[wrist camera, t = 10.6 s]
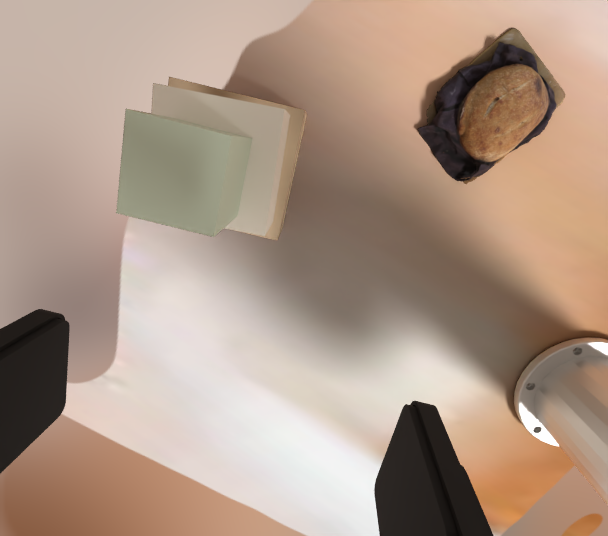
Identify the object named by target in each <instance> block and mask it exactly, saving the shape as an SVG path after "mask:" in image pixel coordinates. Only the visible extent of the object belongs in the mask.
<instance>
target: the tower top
mask: <svg viewBox="0 0 608 536" xmlns="http://www.w3.org/2000/svg"><path fill="white" fill-rule="evenodd" d="M152 114H156V115H161V116H167V117H172V118H176V119H180V120H184V121H188V122H191V123H195V124H199V125H203V126H207V127H211V128H215V129H218V130H222V131H226V132H230V133H234V134H238V135H242V136H245V137H249V138H252V143H251V149H250V154H249V159H248V164H247V169H246V175H245V180H244V185H243V190H242V195H241V200H240V206H239V211H238V216H237V217H236V218H235V219H234V220H233V221H231V222H230V223H229V224H228V225H227V226H226V227H225V228H224V229H229V230H235V231H240V232H245V233H251V234H256V235H261V236H265V235H266V233H267V232H268V230H269V228H270V226H271V225H272V223H273V220H274V213H275V207H276V201H277V195H278V189H279V182H280V176H281V170H282V164H283V158H284V151H285V145H286V139H287V133H288V127H289V120H290V114H289V113H288V112H287V111H286V110H285V109H282V108H277V107H272V106H267V105H262V104H257V103H251V102H246V101H241V100H236V99H231V98H226V97H221V96H216V95H211V94H206V93H201V92H196V91H191V90H186V89H180V88H175V87H170V86H165V85H160V84H153V97H152Z"/></svg>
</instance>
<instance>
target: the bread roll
mask: <svg viewBox="0 0 608 536" xmlns="http://www.w3.org/2000/svg"><path fill="white" fill-rule="evenodd" d="M564 98H565V93H564V91H563V90H562V88H561V87H560V86H559V84H558V83H557V82H556V80H555V79H554V78H553V76H552V74H551V73H550V72H549V70H548V69H547V68H546V66H545V65H544V64H543V62H542V61H541V60H540V58H539V57H538V56H537V54H536V53H535V52H534V50H533V49H532V48H531V46H530V45H529V44H528V42H527V41H526V40H525V38H524V37H523V36H522V34H521V33H520V31H519V30H517V29H515V28H513V29H510V30H509V31H507V32H506V33H505V34H503V35H502V36H501V37H500V38H498V39H497V40H496V41H495V42H494V43H493V44H492V45H491V46H489V47H488V48H487V49H486V50H485V51H483V52H482V53H481V54H480V55H479V56H478V57H477V58H476V59H474V60H473V61H472V62H471V63H470V64H469V65H468V66H466V67H464V68H462V69H460V70H459V71H458V73H457V74H456V75H455V76H454V77H452V78H451V79H450V80H449V81H448V82H447V83H446V84H445V85H444V86H443V87H442V88H441V90H440V91H439V92H437V96H436V99H435V100H434V101H433V103H432V104H431V105H430V106H429V109H427V117H428V119H427V122H428V125H427V126H424V127H420V128H418V131H419V134H420V135H421V137H422V138H423V139H424V141H425V142H426V143H427V144H428V145H429V147H430V148H431V150H432V152H433V154H434V155H435V156H436V158H437V159H438V161H439V162H440V164H441V165H442V167H443V168H444V170H445V171H446V172H447V173H448V174H449V175H450V176H451V177H452V178H454V179H455V180H457V181H463V182H464V183H465V184H467V183H468V182H471V181H473V180H475V179H476V178H477V177H479V176H480V175H482V174H484V173H485V172H487V171H488V170H489V169H490V168H491V167H493V166H494V165H495V164H496V163H498V162H499V161H501V160H502V159H503V158H504V157H505V156H506V155H507V154H508V153H510V152H511V151H513V150H515V149H517V148H518V147H519V146H521V145H523V144H525V143H528V142H529V141H530V140H531V139H532V138H533V137H536V136H538V135H539V134H540V133H541V132H542V131H543V130H544V129H545V127H546V126H547V124H548V121H549V119H550V118H551V116H552V113H553V112H554V110H555V109H556V107H558V106H559V105H560V104H561V103H562V102H563V100H564Z"/></svg>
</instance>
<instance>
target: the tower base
mask: <svg viewBox="0 0 608 536" xmlns="http://www.w3.org/2000/svg"><path fill="white" fill-rule="evenodd" d="M168 86H170V87H175V88H180V89H186V90H191V91H196V92H201V93H206V94H211V95H216V96H221V97H226V98H231V99H236V100H241V101H246V102H251V103H257V104H262V105H267V106H272V107H277V108H282V109H285V110H286V111H287V112H288V113H289V114H290V120H289V127H288V133H287V139H286V145H285V151H284V158H283V164H282V170H281V176H280V182H279V189H278V195H277V201H276V207H275V213H274V220H273V223H272V225H271V226H270V228H269V230H268V232H267V233H266V235H265V236H261V235H256V234H251V233H246V234H251V235H255V236H259V237H264V238H268V239H272V240H278V238H279V235H280V233H281V231H282V228H283V224H284V219H285V214H286V210H287V205H288V200H289V196H290V191H291V187H292V182H293V177H294V173H295V168H296V163H297V159H298V154H299V149H300V145H301V140H302V136H303V131H304V126H305V122H306V117H307V114H306V111H305V110H302V109H298V108H294V107H290V106H286V105H282V104H278V103H274V102H270V101H266V100H262V99H258V98H254V97H250V96H245V95H241V94H237V93H233V92H229V91H225V90H221V89H216V88H212V87H209V86H205V85H201V84H197V83H192V82H188V81H184V80H180V79H176V78H172V77H169V83H168ZM233 231H235V230H233ZM238 232H240V231H238ZM242 233H245V232H242Z"/></svg>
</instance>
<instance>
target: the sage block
mask: <svg viewBox="0 0 608 536" xmlns="http://www.w3.org/2000/svg"><path fill="white" fill-rule="evenodd" d="M251 143H252V138H249V137H245V136H242V135H238V134H234V133H230V132H226V131H222V130H218V129H215V128H211V127H207V126H203V125H199V124H195V123H191V122H188V121H184V120H180V119H176V118H172V117H167V116H161V115H156V114H151V113H145V112H140V111H135V110H130V109H126V113H125V123H124V134H123V146H122V157H121V167H120V178H119V190H118V201H117V212H116V213H118V214H123V215H126V216H130V217H134V218H138V219H142V220H147V221H151V222H155V223H159V224H163V225H167V226H171V227H175V228H179V229H183V230H187V231H191V232H195V233H199V234H203V235H207V236H211V237H214V236H216V235H217V234H218V233H219V232H220V231H221V230H222V229H223V228H225V227H226V226H227V225H228V224H229V223H230V222H231V221H233V220H234V219H235V218H236V217H237V216H238V211H239V206H240V200H241V195H242V190H243V185H244V180H245V175H246V169H247V164H248V159H249V154H250V149H251Z"/></svg>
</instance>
